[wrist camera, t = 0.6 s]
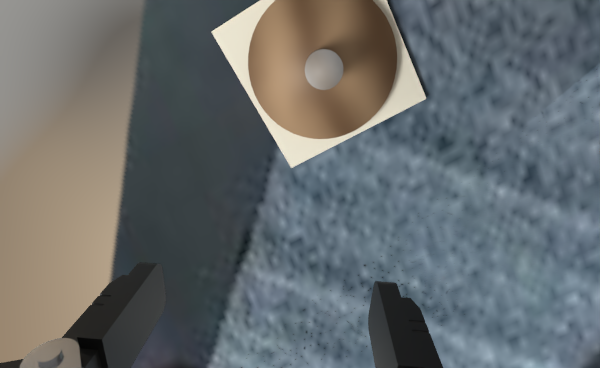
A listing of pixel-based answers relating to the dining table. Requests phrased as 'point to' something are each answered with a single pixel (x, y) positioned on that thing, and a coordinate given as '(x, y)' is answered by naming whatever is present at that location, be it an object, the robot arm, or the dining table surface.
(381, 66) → the lid
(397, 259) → the dining table surface
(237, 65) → the mat
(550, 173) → the dining table surface
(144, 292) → the robot arm
